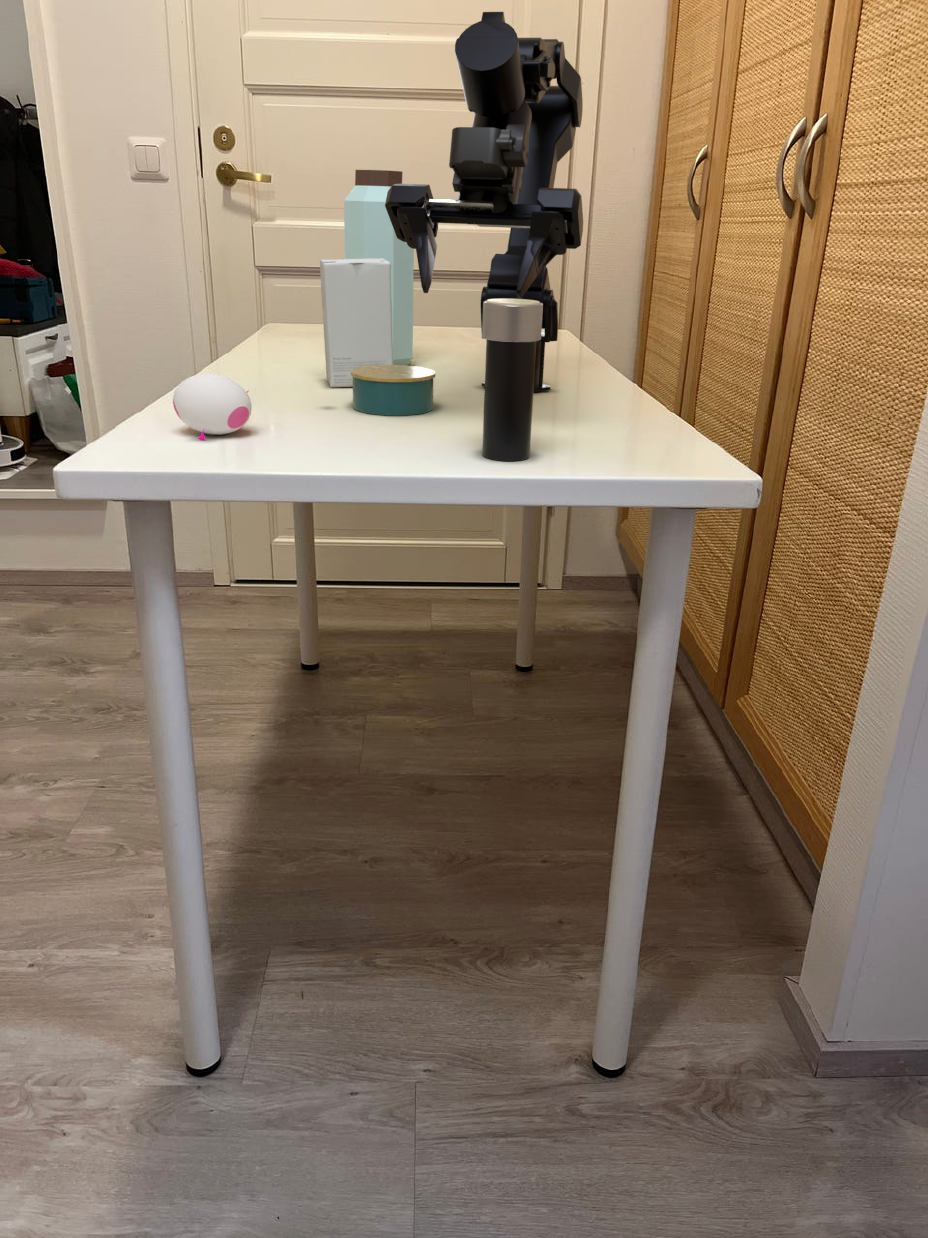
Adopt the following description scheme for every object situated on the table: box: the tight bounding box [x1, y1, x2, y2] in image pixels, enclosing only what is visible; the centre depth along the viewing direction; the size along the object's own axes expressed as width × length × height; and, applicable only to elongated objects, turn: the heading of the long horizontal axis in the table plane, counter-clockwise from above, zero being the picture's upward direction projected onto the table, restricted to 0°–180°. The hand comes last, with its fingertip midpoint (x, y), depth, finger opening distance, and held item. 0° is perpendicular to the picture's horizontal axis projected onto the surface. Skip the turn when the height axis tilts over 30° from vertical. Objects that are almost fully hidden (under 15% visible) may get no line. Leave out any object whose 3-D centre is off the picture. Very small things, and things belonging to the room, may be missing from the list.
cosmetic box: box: [319, 258, 393, 388], centre depth 117 cm, size 8×6×15 cm
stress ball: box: [172, 373, 253, 441], centre depth 92 cm, size 8×8×7 cm
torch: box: [481, 298, 543, 462], centre depth 85 cm, size 5×5×14 cm
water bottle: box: [343, 169, 415, 366], centre depth 131 cm, size 10×10×25 cm
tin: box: [351, 365, 436, 417], centre depth 106 cm, size 9×9×4 cm
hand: (471, 292), depth 90 cm, fingers open, 9 cm apart
